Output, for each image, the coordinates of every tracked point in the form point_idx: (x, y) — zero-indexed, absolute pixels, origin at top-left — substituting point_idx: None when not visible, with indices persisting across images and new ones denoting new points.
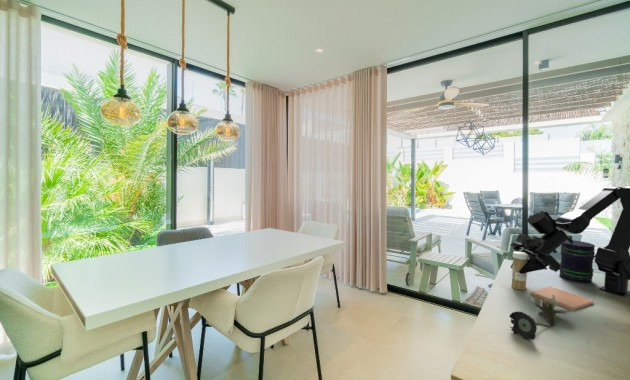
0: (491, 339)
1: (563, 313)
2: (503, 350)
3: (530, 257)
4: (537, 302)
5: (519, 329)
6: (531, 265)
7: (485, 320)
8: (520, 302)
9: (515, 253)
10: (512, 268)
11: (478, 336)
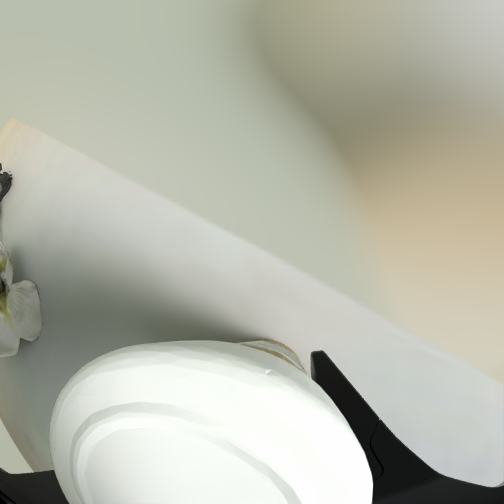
0: (17, 147)
1: (14, 347)
2: (3, 158)
3: (50, 496)
4: (11, 274)
5: (3, 188)
6: None
7: (46, 143)
8: (93, 276)
9: (119, 357)
10: (266, 344)
11: (27, 131)
